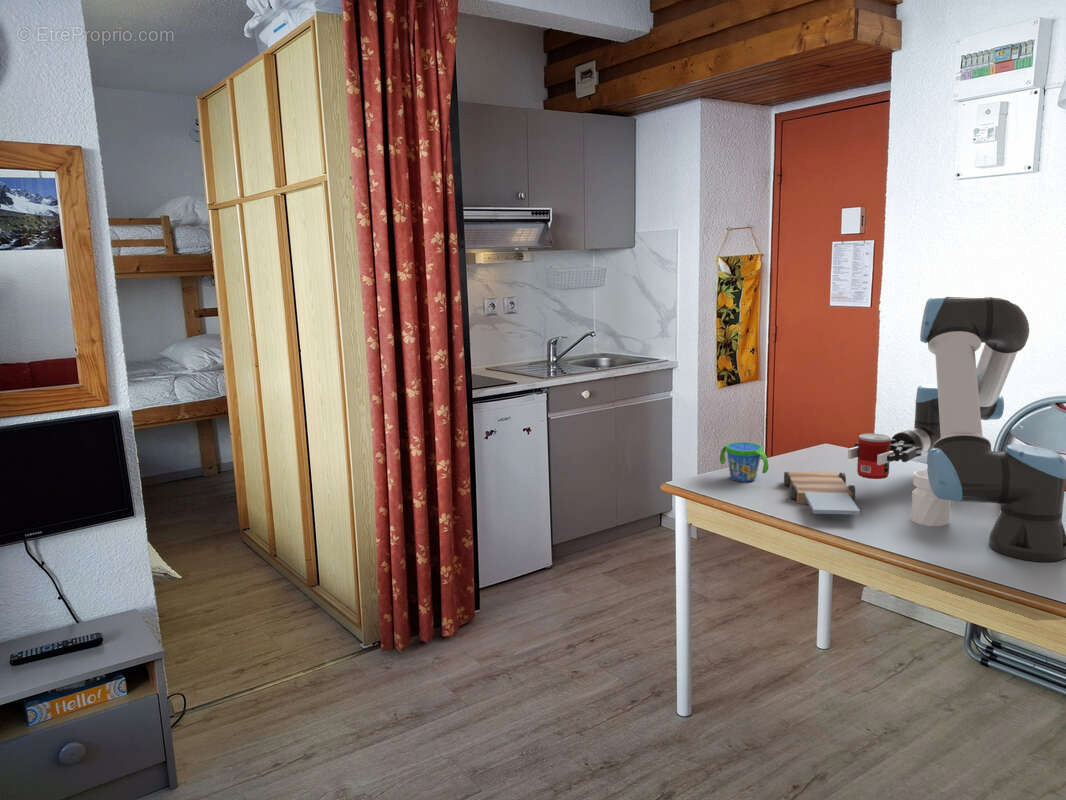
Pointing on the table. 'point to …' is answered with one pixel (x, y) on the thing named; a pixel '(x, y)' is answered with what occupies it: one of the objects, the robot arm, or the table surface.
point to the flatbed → (816, 484)
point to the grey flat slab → (831, 503)
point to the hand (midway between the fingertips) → (863, 456)
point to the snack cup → (744, 460)
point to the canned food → (872, 455)
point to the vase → (928, 503)
